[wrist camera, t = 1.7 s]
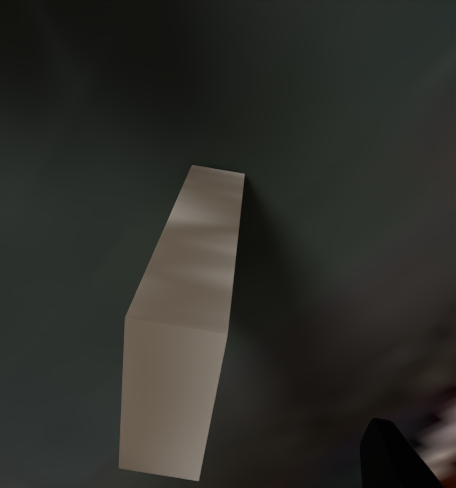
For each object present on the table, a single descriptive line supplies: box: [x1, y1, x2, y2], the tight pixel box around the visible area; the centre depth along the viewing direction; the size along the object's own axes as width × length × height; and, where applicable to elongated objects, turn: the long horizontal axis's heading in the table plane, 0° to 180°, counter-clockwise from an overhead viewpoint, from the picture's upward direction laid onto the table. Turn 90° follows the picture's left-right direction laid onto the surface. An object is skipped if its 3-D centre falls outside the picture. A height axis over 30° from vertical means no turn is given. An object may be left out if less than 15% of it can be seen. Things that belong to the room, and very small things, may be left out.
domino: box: [119, 165, 245, 481], centre depth 13 cm, size 2×5×9 cm, turn 171°
